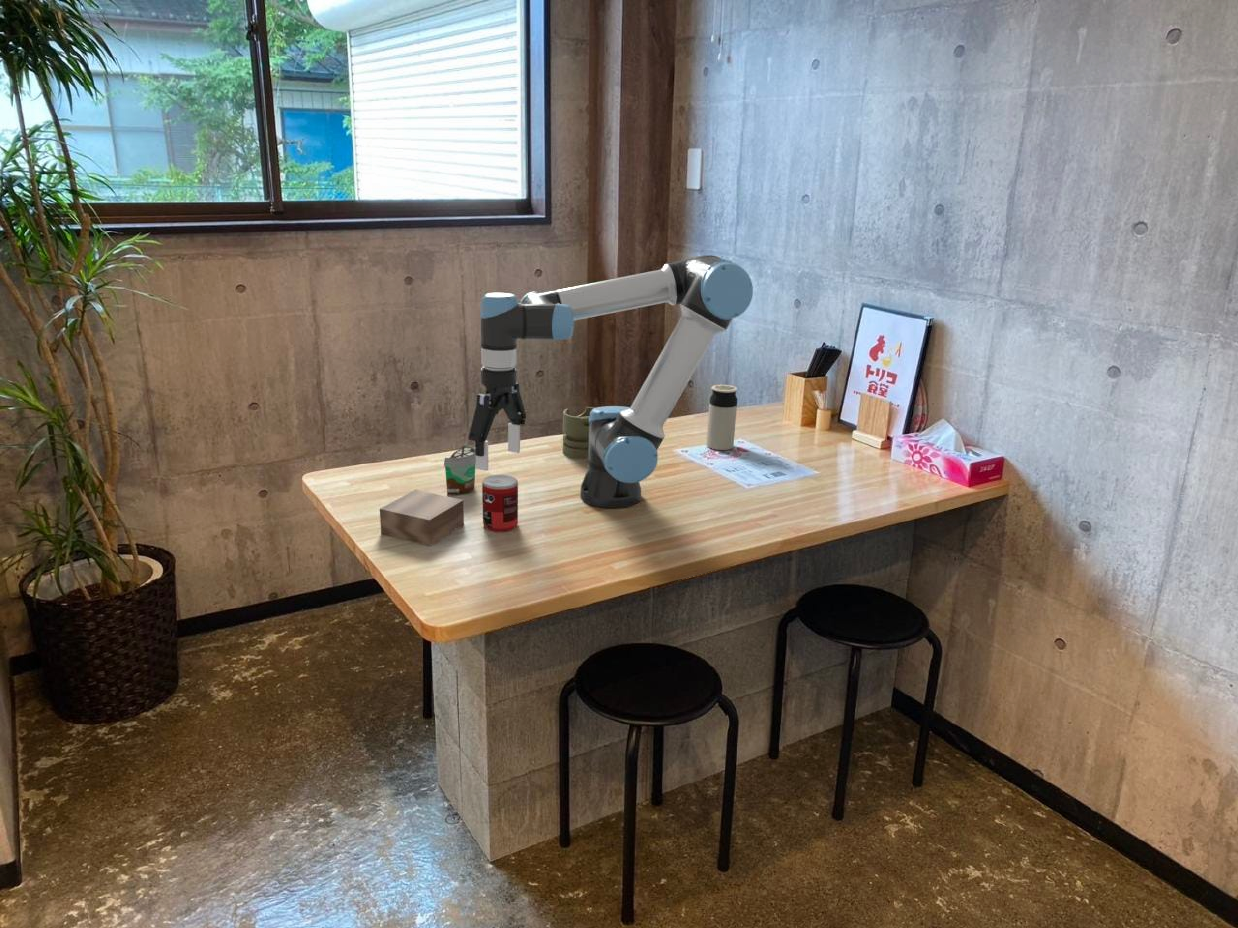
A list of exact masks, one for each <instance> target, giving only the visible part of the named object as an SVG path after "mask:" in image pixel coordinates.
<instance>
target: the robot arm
mask: <svg viewBox="0 0 1238 928" xmlns="http://www.w3.org/2000/svg"><path fill="white" fill-rule="evenodd" d="M753 286H754V285H753V282H752V279H751V276H750V275H749V273H748V272H747V271H746V270H745V269H744V268H743V267H742V266H740V265H739V264H737V263H736V262H733V261H731V260H727V259H724V258H722V257H718V256H716V255H710V254H705V255H699V256H695V257H690V258H686V259H682V260H679V261H674V262H668V263H665V264H664V265H663V266H662V268H661V269H658V270H652V271H647V272H643V273H636V274H631V275H627V276H621V277H616V278H612V279H607V280H601V281H596V282H591V283H586V284H581V285H575V286H571V287H570V286H569V287H567V288H561V289H556V290H551V291H546V292H540V291H530V292H528V293H526V294H524V295H523V296H522V298H521V299H520V302H519V300H518V297H517V295H515V294H513V293H509V292H508V293H507V292H488V293H486V294H484V295H483V296H482V298H481V302H480V303H481V304H480V314H479V315H480V346H481V347H480V348H481V349H480V355H481V356H480V358H481V359H480V363H481V365H482V366H481V368H480V383H481V384H482V386H484V387H485V393H484V394H482V393H477V395H476V404H475V409H474V413H473V414H474V415H473V418H472V422H471V425H470V429H469V435H468V440H470V441H474V444H475V445H474V448H475V454H476V466H475V470H476V469H477V470H481V471H486V472H487V471H489V441H488V440H487V438H488V435H489V432H490V431H491V428H492V425H493V423H494V419H495V417H496V416H497V415H498V414H499V412H500V411H501V410H503V411H504V413H505V414H506V417H507V418H508V419H509V422H510V423H509V422H508V424H507V428H508V431H507V451H508V452H511V453H515V454H519V453H521V425H525V424H526V419H527V413H526V411H525V408H524V403H523V399H522V396H521V391H520V382H517V368H516V366H517V361H518V360H517V355H518V354H517V346H518V345H517V342H518V341H517V340H522V341H523V340H540V341H541V340H543V341H546V340H547V341H548V340H549V341H550V340H552V341H558V340H569V339H571V338H572V336H573V335H574V334H573V333H574V328H575V327H574V326H575V324H574V323H575V322H576V321H578V320H583V319H590V318H593V317H599V316H604V315H608V314H613V313H619V312H624V311H630V310H634V309H638V308H639V309H640V308H645V307H649V306H654V305H659V304H664V303H668V304H669V305H671V306H676V305H679V307H680V310H681V317H680V318H679V320H678V322H677V323H676V326H675V327H674V329H673V330H672V333H671V334H670V336H669V338H668V339H667V341H666V344H665V345H664V347H663V349H662V350H661V352H660V354H659V355H658V358H657V359H656V360H655V363H654V365H653V366H652V368H651V370H650V372H649V373H648V375H647V377H646V379H645V381H644V382H643V385H642V386H641V388H640V390H639V392H638V393H637V395H636V397H635V399H634V400H633V402H632V404H631V406H630V407H629V406H623V405H620V406H619V405H608V406H607V405H606V406H598V407H593V408H594V409H593V410H591V412H590V419H589V459H587V460H588V465H587V470H586V471H585V474H584V478H583V480H582V482H581V486H580V493H579V494H580V499H581V500H582V501H583V502H584V503H586V504H588V505H591V506H595V507H599V508H605V509H606V508H607V509H619V508H626V507H631V506H634V505H636V504H638V503H639V502H640V501H641V499H642V487H641V484H640V482H642V481H644V480H646V479H647V478H649V477H650V476H651V475H652V473H653V472H654V471H655V469H656V467H657V465H658V462H659V461H658V459H659V458H658V449H659V448H660V447H661V446H660V445H661V444H662V443H663V440H664V439H665V437H666V436H665V432H664V426H665V424H666V422H667V420H668V418H669V416H670V415H671V413H672V411H673V410H674V408H675V406H676V404H677V403H678V401H679V398H681V395H682V394H683V392H684V390H685V388H686V387H687V385H688V383H689V381H690V380H691V378H692V376H693V375H694V372H695V371H696V369H697V368H698V366H699V365H700V362H701V360H702V359H703V357H704V355H705V353H706V352H707V350H708V349H709V346H710V345H711V343H712V341H713V340H714V338H715V336H716V335H717V334H719V333H723V332H726V331H727V329H728V327H729V325H731V322H732V320H734V319H735V318H737V317H740V316H741V315H743V314H744V312H746V311H747V310H748V309H749V307H750V304H751V302H752V300H753V295H754V288H753Z"/></svg>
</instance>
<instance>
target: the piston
mask: <svg viewBox="0 0 1238 928" xmlns="http://www.w3.org/2000/svg"><path fill="white" fill-rule="evenodd" d="M594 408H595V407H594V406H593V407H592V406H585V408H584V409H585V410H584V411H583V412H582V413H581V414H579V415H576V416H574V415H571V414H570V411H569V408H565V409H564V410H563V412H562V432H563V434H562V454H563V455H564V456H566V457H568V458H570V459H575V460H588V459H589V419H590V412H591V410H593V409H594Z"/></svg>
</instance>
